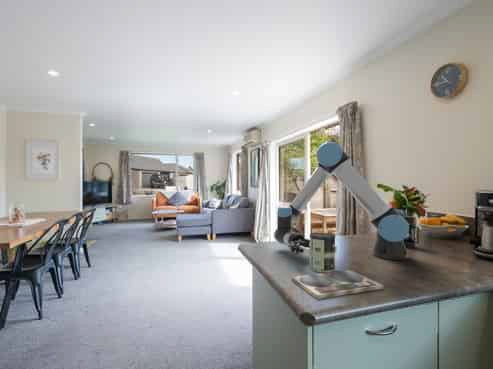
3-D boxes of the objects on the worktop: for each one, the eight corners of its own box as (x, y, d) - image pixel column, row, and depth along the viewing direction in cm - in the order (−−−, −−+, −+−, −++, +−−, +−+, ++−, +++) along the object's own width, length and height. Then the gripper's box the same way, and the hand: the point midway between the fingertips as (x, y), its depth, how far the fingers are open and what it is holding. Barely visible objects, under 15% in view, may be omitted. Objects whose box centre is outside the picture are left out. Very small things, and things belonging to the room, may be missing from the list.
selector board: (350, 272, 104) (350, 269, 104) (382, 288, 88) (382, 284, 88) (291, 280, 95) (291, 276, 95) (316, 299, 80) (317, 294, 80)
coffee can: (333, 265, 113) (333, 232, 113) (336, 273, 103) (337, 237, 103) (308, 263, 115) (309, 231, 115) (309, 271, 105) (310, 236, 105)
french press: (392, 245, 150) (392, 205, 150) (400, 243, 155) (400, 204, 155) (414, 249, 140) (414, 207, 140) (422, 247, 145) (422, 206, 145)
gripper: (315, 245, 133) (346, 257, 113) (271, 250, 123) (297, 263, 103) (315, 231, 132) (346, 239, 113) (272, 234, 123) (297, 244, 103)
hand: (322, 251), depth 108 cm, fingers open, 13 cm apart
